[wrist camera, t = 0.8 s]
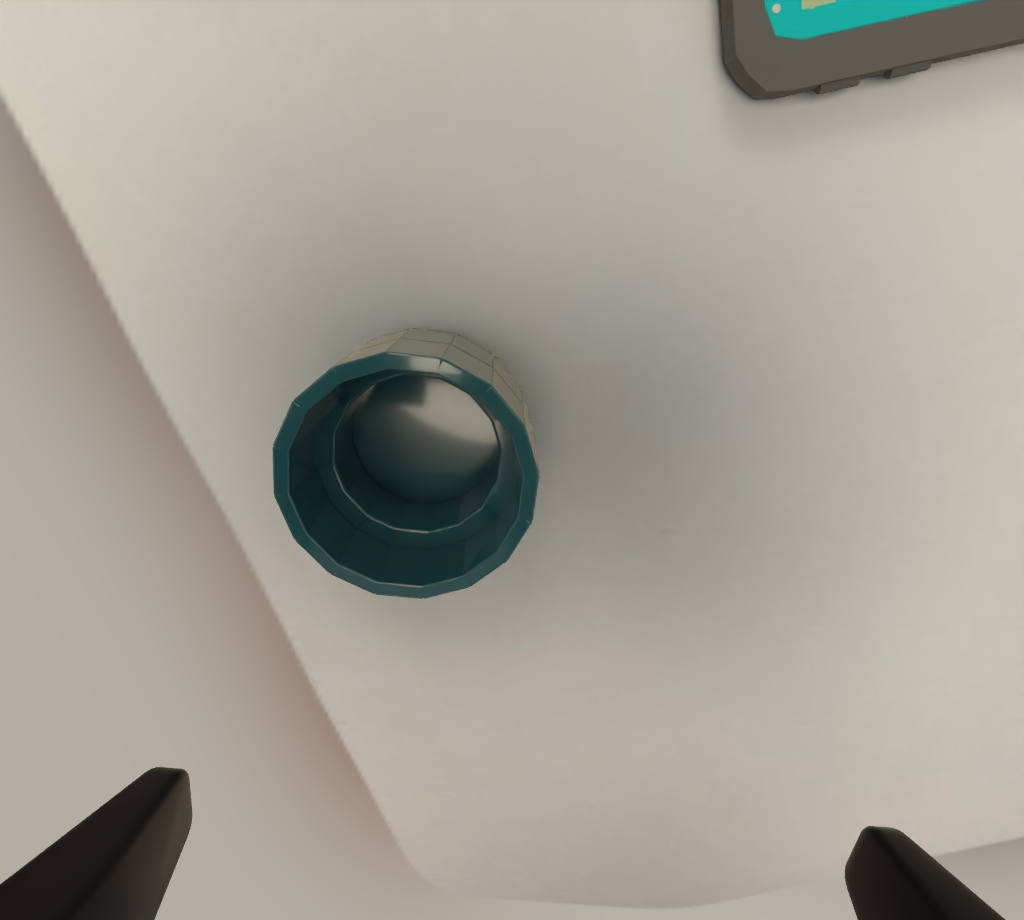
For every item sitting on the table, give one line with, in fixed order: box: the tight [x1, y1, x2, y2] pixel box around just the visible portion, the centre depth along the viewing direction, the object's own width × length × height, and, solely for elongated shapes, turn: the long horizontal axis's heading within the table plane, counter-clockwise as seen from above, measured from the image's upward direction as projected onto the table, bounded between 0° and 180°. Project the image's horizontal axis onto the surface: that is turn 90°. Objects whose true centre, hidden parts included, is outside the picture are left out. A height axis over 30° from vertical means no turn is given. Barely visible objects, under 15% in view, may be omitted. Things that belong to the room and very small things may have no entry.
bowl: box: [273, 328, 539, 599], centre depth 16 cm, size 6×6×4 cm
